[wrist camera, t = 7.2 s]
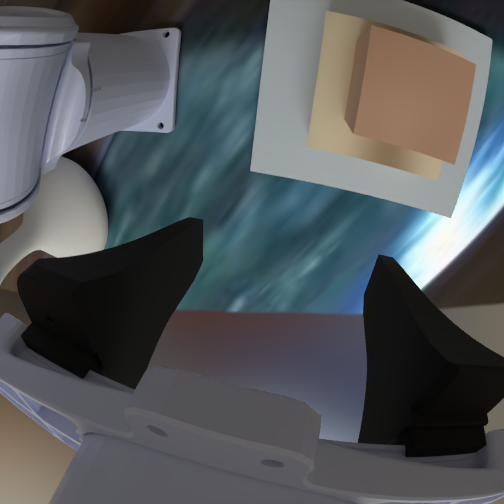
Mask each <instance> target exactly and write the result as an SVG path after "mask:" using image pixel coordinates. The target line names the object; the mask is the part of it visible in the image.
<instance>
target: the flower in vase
mask: <svg viewBox="0 0 504 504" xmlns="http://www.w3.org/2000/svg"><path fill="white" fill-rule="evenodd" d="M40 177H41V179H40V189H39V192H38V195H37V197H36V199H35V200H34V202H33V203H32V204H31V205H30V207H29V208H28V209H26V210H25V211H24V218H23V222H22V224H21V226H20V227H19V228H18V229H17V231H16V232H14V233H13V234H12V235H11V236H10V237H8V238H7V239H6V240H4V241H3V242H1V243H0V284H1V282H2V281H3V279H4V278H5V276H6V275H7V274H8V273H9V271H10V270H11V269H12V268H13V267H14V266H15V265H16V264H17V263H18V262H19V261H20V260H21V259H22V258H24V257H25V256H26V255H27V254H29V253H31V252H33V251H35V250H43V251H45V252H47V253H49V254H51V255H53V256H55V257H57V258H60V257H69V256H77V255H82V254H88V253H93V252H97V251H101V250H103V249H104V247H105V245H106V241H107V236H108V216H107V210H106V206H105V203H104V200H103V197H102V195H101V193H100V191H99V189H98V187H97V185H96V184H95V182H94V181H93V179H92V178H91V176H90V175H89V174H88V173H87V172H86V171H85V170H84V169H83V168H82V167H81V166H80V165H78V164H77V163H75V162H74V161H72V160H70V159H67V158H65V157H62V156H61V157H60V158H59V160H58V162H57V166H56V168H55V169H53V170H51V171H49V172H47V173H45V174H43V175H42V176H40Z"/></svg>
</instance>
